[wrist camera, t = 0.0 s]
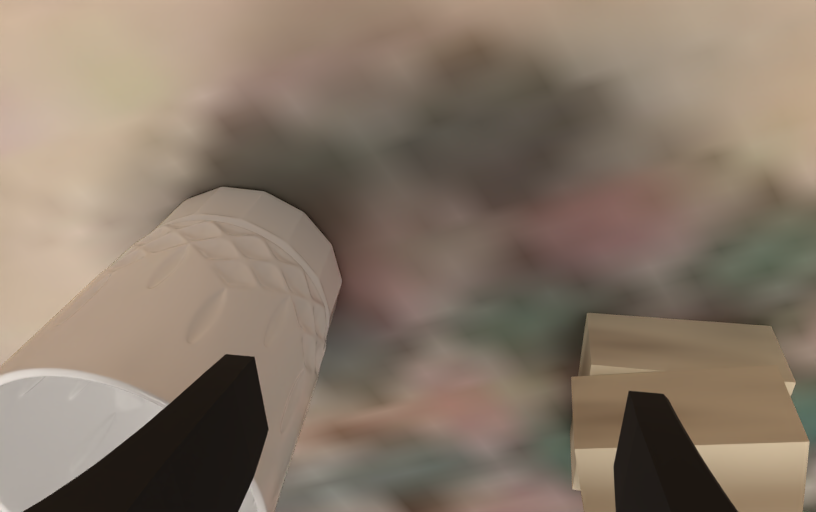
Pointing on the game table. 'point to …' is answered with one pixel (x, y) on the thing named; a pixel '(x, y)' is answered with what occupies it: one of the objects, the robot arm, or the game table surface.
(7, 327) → the game table surface
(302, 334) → the white cup
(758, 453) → the slab upper
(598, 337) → the slab lower
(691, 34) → the game table surface
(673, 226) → the game table surface
